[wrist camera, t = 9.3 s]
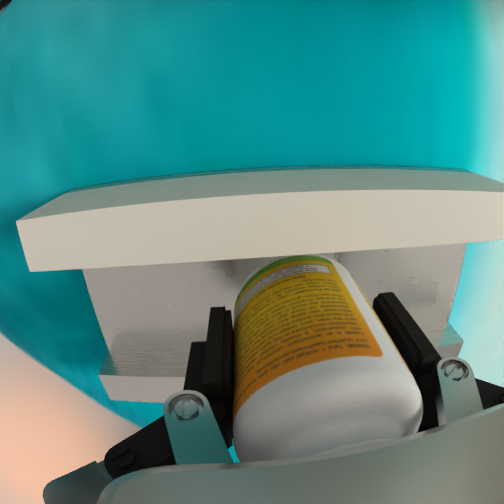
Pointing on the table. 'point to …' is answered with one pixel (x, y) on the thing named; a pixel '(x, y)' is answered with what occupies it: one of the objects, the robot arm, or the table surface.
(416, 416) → the supplement bottle
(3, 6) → the spotted tube
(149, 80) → the table surface
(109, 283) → the track
